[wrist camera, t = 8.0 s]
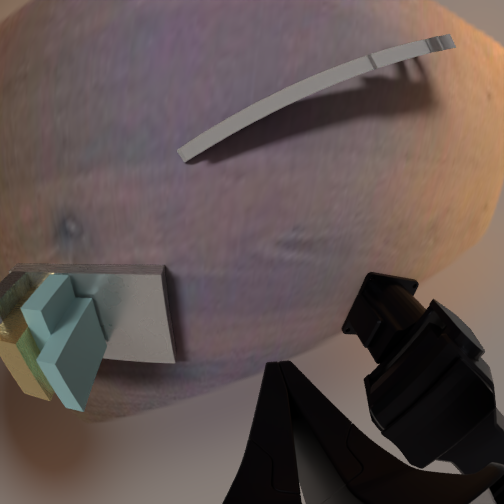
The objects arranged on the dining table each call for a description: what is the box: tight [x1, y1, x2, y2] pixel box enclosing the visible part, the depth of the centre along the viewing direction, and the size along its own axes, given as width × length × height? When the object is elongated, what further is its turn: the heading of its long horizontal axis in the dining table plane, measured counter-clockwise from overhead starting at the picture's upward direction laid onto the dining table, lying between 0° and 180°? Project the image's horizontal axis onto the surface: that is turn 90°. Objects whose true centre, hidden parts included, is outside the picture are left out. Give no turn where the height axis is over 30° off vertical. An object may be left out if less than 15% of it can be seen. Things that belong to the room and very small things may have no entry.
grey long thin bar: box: [177, 34, 456, 163], centre depth 13 cm, size 20×1×6 cm, turn 120°
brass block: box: [0, 287, 55, 401], centre depth 16 cm, size 3×6×7 cm, turn 178°
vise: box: [0, 263, 177, 363], centre depth 18 cm, size 15×9×6 cm, turn 88°
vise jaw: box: [21, 275, 107, 412], centre depth 16 cm, size 4×9×7 cm, turn 178°
